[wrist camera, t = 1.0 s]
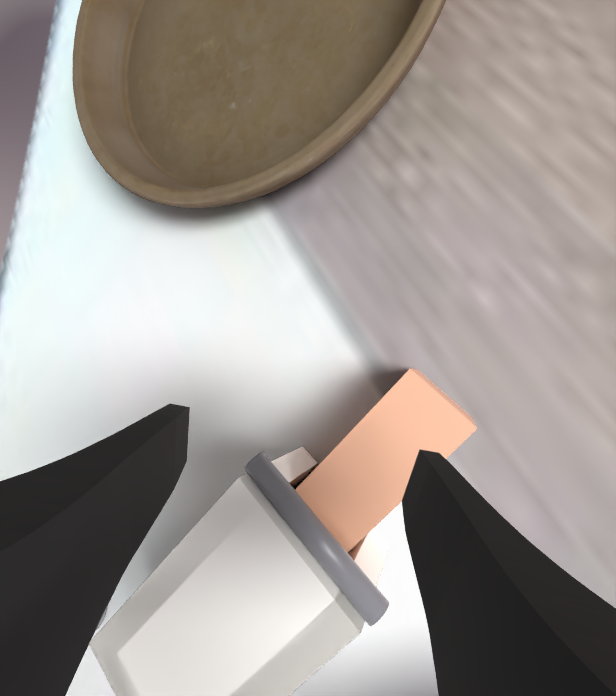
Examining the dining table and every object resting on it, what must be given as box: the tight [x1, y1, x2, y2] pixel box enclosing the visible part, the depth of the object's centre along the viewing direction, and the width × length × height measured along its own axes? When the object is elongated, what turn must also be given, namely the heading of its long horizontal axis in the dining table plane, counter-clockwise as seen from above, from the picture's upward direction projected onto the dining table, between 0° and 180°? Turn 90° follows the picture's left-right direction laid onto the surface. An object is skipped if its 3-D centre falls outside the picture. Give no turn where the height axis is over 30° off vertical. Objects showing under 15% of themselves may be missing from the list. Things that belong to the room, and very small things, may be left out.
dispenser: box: [89, 446, 390, 696], centre depth 21 cm, size 8×15×8 cm, turn 136°
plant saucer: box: [73, 0, 446, 208], centre depth 26 cm, size 31×31×5 cm
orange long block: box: [295, 368, 477, 553], centre depth 21 cm, size 4×16×5 cm, turn 137°
